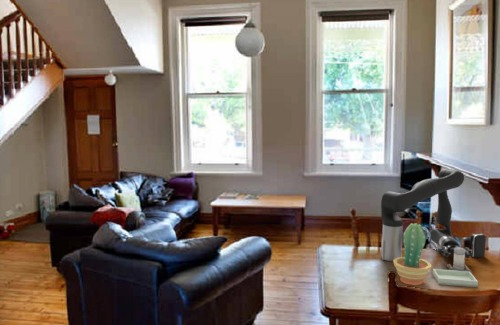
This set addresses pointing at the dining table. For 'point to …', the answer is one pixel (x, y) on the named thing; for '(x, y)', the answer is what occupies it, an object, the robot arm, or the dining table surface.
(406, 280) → the potted cactus
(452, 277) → the parts tray
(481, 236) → the dark grey block
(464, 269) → the grey u-shaped bracket
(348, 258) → the dining table surface
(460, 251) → the fuse
